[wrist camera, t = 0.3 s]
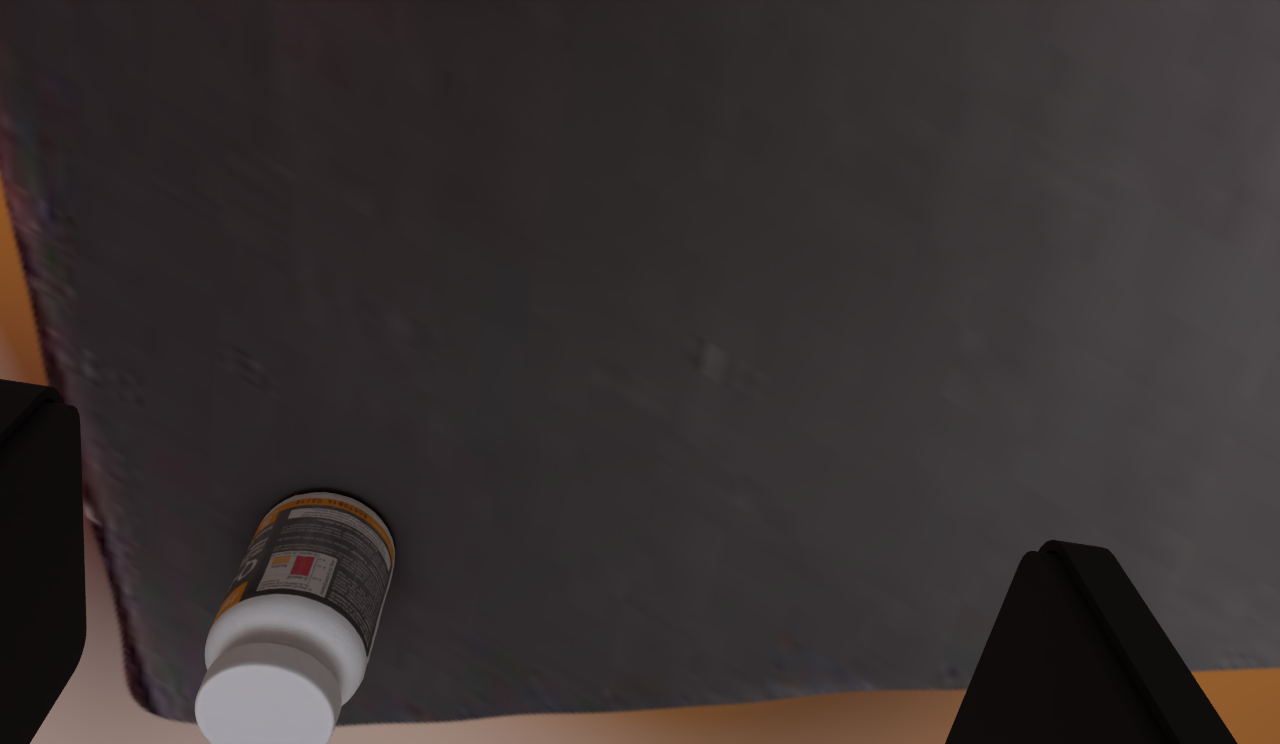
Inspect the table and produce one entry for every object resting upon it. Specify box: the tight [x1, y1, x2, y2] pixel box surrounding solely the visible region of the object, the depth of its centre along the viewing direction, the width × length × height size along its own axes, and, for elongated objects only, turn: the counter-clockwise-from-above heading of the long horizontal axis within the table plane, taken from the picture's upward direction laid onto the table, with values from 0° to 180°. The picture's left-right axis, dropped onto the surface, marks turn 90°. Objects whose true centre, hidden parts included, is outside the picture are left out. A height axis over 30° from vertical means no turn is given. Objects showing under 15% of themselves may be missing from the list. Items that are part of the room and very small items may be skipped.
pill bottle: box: [195, 492, 395, 744], centre depth 43 cm, size 6×6×10 cm
